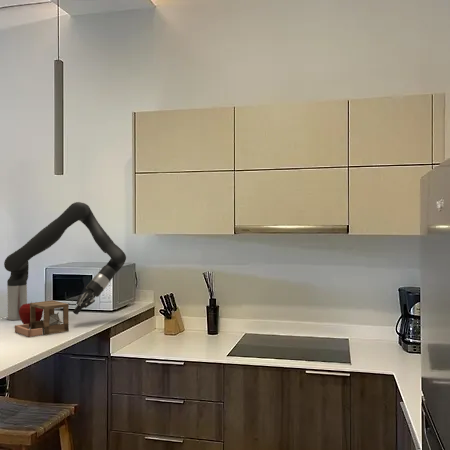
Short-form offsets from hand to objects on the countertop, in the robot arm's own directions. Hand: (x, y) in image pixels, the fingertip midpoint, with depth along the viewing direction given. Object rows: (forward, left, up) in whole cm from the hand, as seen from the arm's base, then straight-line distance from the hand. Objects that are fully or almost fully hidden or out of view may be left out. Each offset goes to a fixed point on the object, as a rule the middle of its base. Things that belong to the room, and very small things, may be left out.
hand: (74, 313), depth 239 cm
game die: (0, -11, -6) cm, 13 cm away
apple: (-16, -14, -6) cm, 22 cm away
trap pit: (0, -22, -6) cm, 23 cm away
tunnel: (0, -12, -6) cm, 14 cm away
